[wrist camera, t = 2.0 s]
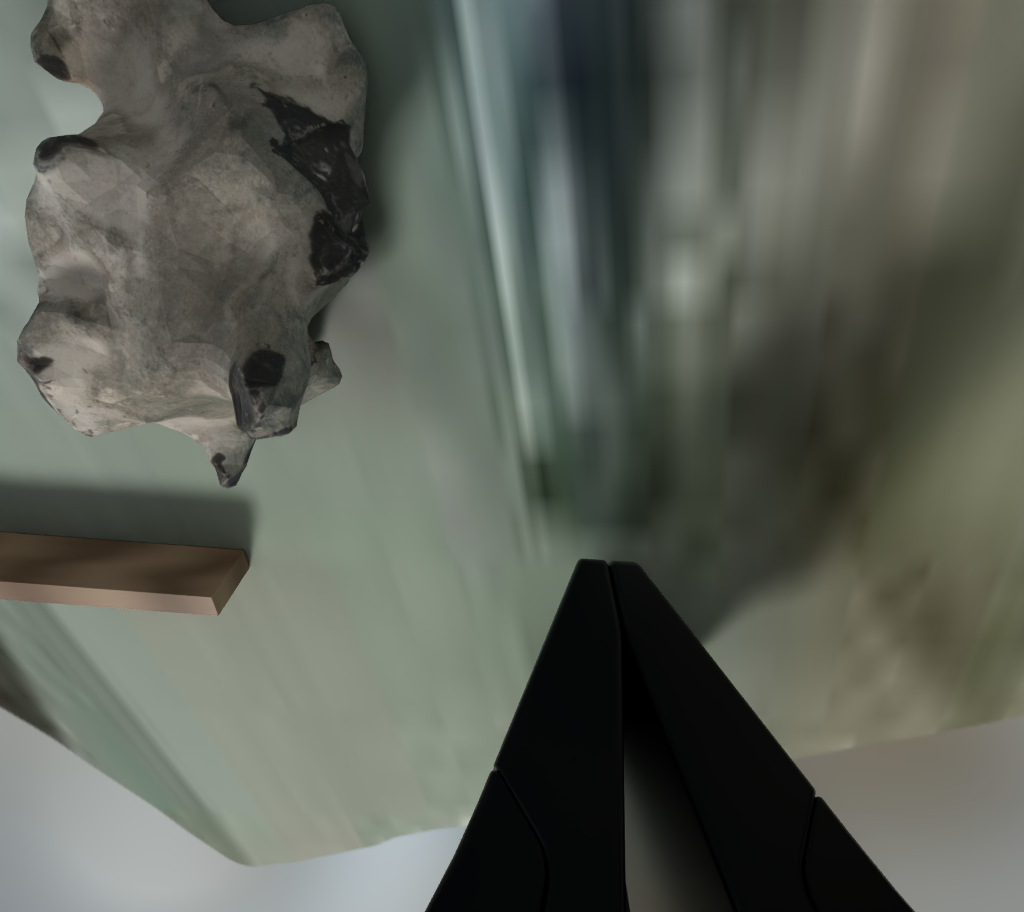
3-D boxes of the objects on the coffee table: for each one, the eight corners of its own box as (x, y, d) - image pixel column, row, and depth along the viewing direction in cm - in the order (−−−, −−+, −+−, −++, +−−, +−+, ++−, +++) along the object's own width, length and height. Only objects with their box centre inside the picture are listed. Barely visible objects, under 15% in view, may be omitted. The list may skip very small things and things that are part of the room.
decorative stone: (-22, -115, 13) (-631, -363, 5) (364, -50, 15) (339, -164, 7) (160, 430, 22) (38, 633, 15) (384, 427, 24) (383, 605, 16)
